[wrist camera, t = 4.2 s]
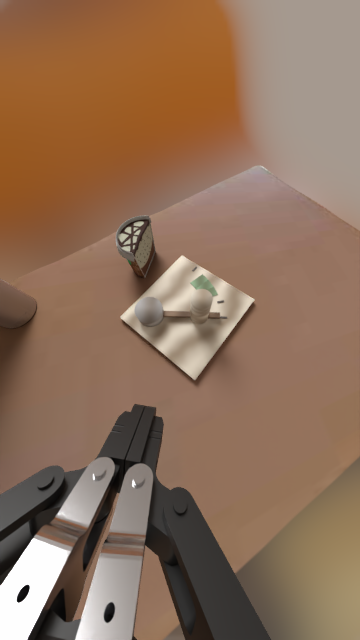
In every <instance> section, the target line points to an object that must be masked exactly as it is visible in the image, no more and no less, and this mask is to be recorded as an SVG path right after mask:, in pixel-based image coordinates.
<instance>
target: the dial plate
mask: <svg viewBox="0 0 360 640" xmlns="http://www.w3.org/2000/svg"><path fill="white" fill-rule="evenodd" d="M198 289H206V290H208V291H209V292H210V293H211V294H212V296H213V301H212V305H211V308H210V312H220V319H207V321H206V322H205V323H203V324H196V323H194V322H193V321H192V320H191V318H178V317H164V318H163V320H162V321H161V323H160V324H158V325H156V326H154V327H147V326H144V325H143V324H142V323H141V322H140V321H139V320H138V318H137V317H136V315H135V306H136V304H137V303H138V302H139V301H140V300H141V299H143V298H145V297H154V298H156V299H158V300H159V301H160V302H161V304H162V307H163V310H164V311H188V312H190V306H191V295H192V293H193V292H194V291H195V290H198ZM254 300H255V299H253V298H251V297H250V296H248V295H246V294H245V293H243V292H241V291H240V290H238V289H236V288H235V287H233V286H231V285H230V284H228V283H226V282H225V281H223V280H222V279H220V278H218V277H217V276H215V275H213V274H212V273H210V272H208V271H207V270H205V269H203V268H202V267H200V266H198V265H197V264H195V263H193V262H192V261H190V260H188V259H187V258H185V257H184V256H181V257H180V258H179V259H178V260H177V261H176V262H175V263H174V264H173V265H172V266H171V267H170V268H169V269H168V270H167V271H166V272H165V273H164V274H163V275H162V276H161V277H160V278H159V279H158V280H157V281H156V282H155V283H154V284H153V285H152V286H151V287H150V288H149V289H148V290H147V291H146V292H145V293H144V294H143V295H142V296H141V297H140V298H139V299H138V300H137V301H136V302H135V303H134V304H133V305H132V306H131V307H130V308H129V309H128V310H127V311H126V312H125V313H124V314H123V315H122V316H121V317H120V318H121V319H122V320H123V321H125V322H126V323H127V324H128V325H129V326H130V327H132V328H133V329H134V330H135V331H136V332H138V333H139V334H140V335H141V336H142V337H144V338H145V339H146V340H147V341H148V342H150V343H151V344H152V345H153V346H154V347H155V348H157V349H158V350H159V351H160V352H161V353H163V354H164V355H165V356H166V357H167V358H169V359H170V360H171V361H172V362H173V363H174V364H176V365H177V366H178V367H179V368H180V369H182V370H183V371H184V372H185V373H186V374H188V375H189V376H190V377H191V378H192V379H193V380H196V378H197V377H198V376H199V374H200V373H201V372H202V370H203V369H204V367H205V366H206V365H207V363H208V362H209V361H210V359H211V358H212V357H213V355H214V354H215V353H216V351H217V350H218V348H219V347H220V346H221V344H222V343H223V342H224V340H225V339H226V338H227V336H228V335H229V334H230V332H231V331H232V330H233V328H234V327H235V325H236V324H237V323H238V321H239V320H240V319H241V317H242V316H243V315H244V313H245V312H246V311H247V309H248V308H249V307H250V305H251V304H252V302H253V301H254Z"/></svg>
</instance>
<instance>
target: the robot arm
mask: <svg viewBox="0 0 360 640" xmlns="http://www.w3.org/2000/svg"><path fill="white" fill-rule="evenodd" d="M35 311H36V301H35V300H34V299H33V298H32V297H31V296H29V295H27V294H26V293H24V292H22V291H20V290H19V289H17V288H15V287H14V286H12V285H10V284H8V283H7V282H5V281H3V280H1V279H0V326H2V327H6V328H17V327H20V326H22V325H24V324H25V323H27V322H28V321H29V320H30V319H31V318H32V316H33V315H34V313H35ZM163 426H164V424H163V420H162V417H157V416H156V408H155V407H149V406H144V405H137V404H135V405H134V406H133V408H132V411H131V412H127V411H125V412H124V413H123V414H121V415H120V416H119V417H118V419H117V421H116V423H115V426H114V427H113V429H112V431H111V432H110V434H109V436H108V438H107V440H106V442H105V443H104V445H103V447H102V449H101V451H100V453H99V455H98V456H97V458H96V459H95V460H94V461H93V462H91V463H90V464H89V465H88V466H87V467H85V468H83V469H80V470H75V471H70V472H64V470H63V468H62V467H60V466H50V467H47V468H45V469H43V470H41V471H39V472H38V473H36V474H34V475H33V476H31V477H29V478H28V479H26V480H24V481H23V482H21V483H19V484H18V485H16V486H14V487H13V488H11V489H9V490H8V491H6V492H4V493H2V494H1V495H0V585H1V584H2V583H3V582H4V583H3V584H2V586H1V587H0V640H137V639H136V638H135V637H134V628H135V620H136V613H137V605H138V597H139V589H140V581H141V573H142V566H143V558H144V550H145V545H146V546H147V547H148V548H149V549H151V550H152V551H153V552H154V553H155V554H156V555H158V556H159V560H160V563H161V566H162V569H163V572H164V575H165V579H166V582H167V585H168V588H169V591H170V594H171V597H172V600H173V603H174V606H175V609H176V613H177V616H178V619H179V622H180V625H181V628H182V631H183V634H184V637H185V640H271V639H270V637H269V635H268V634H267V631H266V630H265V628H264V626H263V624H262V622H261V621H260V619H259V617H258V615H257V613H256V612H255V610H254V608H253V606H252V604H251V602H250V601H249V599H248V597H247V595H246V593H245V592H244V590H243V588H242V586H241V584H240V582H239V581H238V579H237V577H236V575H235V573H234V572H233V570H232V568H231V566H230V564H229V563H228V561H227V559H226V557H225V555H224V553H223V552H222V550H221V548H220V546H219V544H218V543H217V541H216V539H215V537H214V535H213V534H212V532H211V530H210V528H209V526H208V524H207V523H206V521H205V519H204V517H203V515H202V514H201V512H200V510H199V508H198V506H197V505H196V503H195V501H194V499H193V497H192V496H191V494H190V493H189V492H188V491H187V490H186V489H184V488H181V487H176V488H173V489H172V490H169V489H168V488H166V487H165V486H163V485H162V484H161V483H160V482H159V481H158V479H157V477H156V468H157V463H158V458H159V452H160V447H161V442H162V434H163ZM117 493H120V495H119V498H118V502H117V505H116V509H115V513H114V516H113V520H112V523H111V527H110V530H109V534H108V537H107V539H106V540H105V542H104V544H103V547H102V549H101V553H100V556H99V559H98V563H97V566H96V570H95V573H94V577H93V580H92V584H91V587H90V590H89V594H88V597H87V601H86V604H85V608H84V611H83V615H82V618H81V619H78V620H75V621H73V618H74V616H75V613H76V610H77V608H78V605H79V602H80V599H81V595H82V592H83V588H84V584H85V580H86V577H87V574H88V572H89V569H90V567H91V564H92V562H93V559H94V557H95V554H96V552H97V549H98V547H99V544H100V542H101V539H102V537H103V534H104V532H105V530H106V527H107V525H108V522H109V520H110V517H111V515H112V512H113V502H114V499H115V497H116V494H117Z"/></svg>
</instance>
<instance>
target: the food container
mask: <svg viewBox="0 0 360 640" xmlns="http://www.w3.org/2000/svg"><path fill="white" fill-rule="evenodd" d="M150 223H151V219H150V218H149V216H138V217H134V218H131V219H129V220H127V221H126V222H124V223H123V224H122V225H121V226H120V227H119V229H118V231H117V233H116V244H117V248H118V251H119V253H120V254H121V255H122V256H123V257H124V258H126V259H127V260H128V262H129V264H130V265H131V267H132V268H133V270H134V272H135V273H136V274H137V275H138V276H140V277H143V278H145V277H146V275H147V272H148V269H149V267H150V264H151V262H152V259H153V257H154V254H155V252H156V251H155V246H154V240H153V235H152V229H151V224H150Z"/></svg>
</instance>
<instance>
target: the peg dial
mask: <svg viewBox="0 0 360 640" xmlns="http://www.w3.org/2000/svg"><path fill="white" fill-rule="evenodd" d="M212 301H213V296H212V294H211V293H210V292H209V291H208V290H206V289H198V290H195V291H194V292H193V293H192V295H191V306H190V312H188V311H164V310H163V307H162V304H161V302H160V301H159V300H158V299H156V298H154V297H145V298H143V299H141V300H140V301H139V302H138V303H137V304H136V306H135V315H136V317H137V318H138V320H139V321H140V322H141V323H142V324H143V325H144V326H147V327H154V326H156V325H158V324H160V323H161V321H162V320H163V318H164V317H178V318H191V320H192V321H193V322H194V323H196V324H203V323H205V322H206V321H207V319H220V312H210V308H211V305H212Z"/></svg>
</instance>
